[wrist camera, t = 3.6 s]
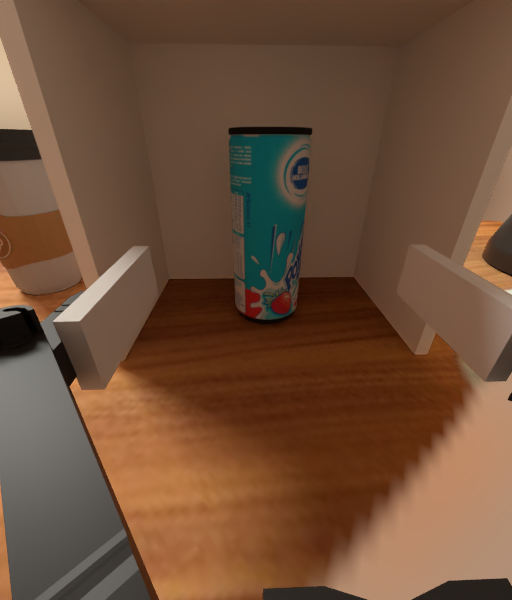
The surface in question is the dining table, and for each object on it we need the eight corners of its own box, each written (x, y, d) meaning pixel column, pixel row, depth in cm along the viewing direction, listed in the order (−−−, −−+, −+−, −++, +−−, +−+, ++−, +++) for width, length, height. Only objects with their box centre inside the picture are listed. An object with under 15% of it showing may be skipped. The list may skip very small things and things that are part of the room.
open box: (358, 273, 34) (409, 26, 23) (427, 354, 21) (618, -120, 10) (162, 275, 34) (116, 21, 22) (110, 360, 21) (-61, -141, 9)
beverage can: (273, 334, 24) (282, 125, 16) (222, 312, 27) (210, 127, 19) (307, 306, 28) (327, 128, 20) (259, 289, 31) (261, 130, 23)
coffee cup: (-9, 289, 30) (-94, 129, 23) (66, 263, 37) (19, 131, 29) (34, 308, 27) (-50, 127, 20) (108, 276, 34) (67, 130, 26)
